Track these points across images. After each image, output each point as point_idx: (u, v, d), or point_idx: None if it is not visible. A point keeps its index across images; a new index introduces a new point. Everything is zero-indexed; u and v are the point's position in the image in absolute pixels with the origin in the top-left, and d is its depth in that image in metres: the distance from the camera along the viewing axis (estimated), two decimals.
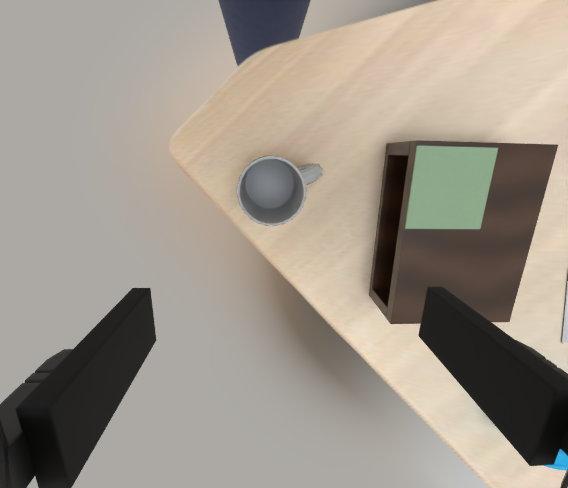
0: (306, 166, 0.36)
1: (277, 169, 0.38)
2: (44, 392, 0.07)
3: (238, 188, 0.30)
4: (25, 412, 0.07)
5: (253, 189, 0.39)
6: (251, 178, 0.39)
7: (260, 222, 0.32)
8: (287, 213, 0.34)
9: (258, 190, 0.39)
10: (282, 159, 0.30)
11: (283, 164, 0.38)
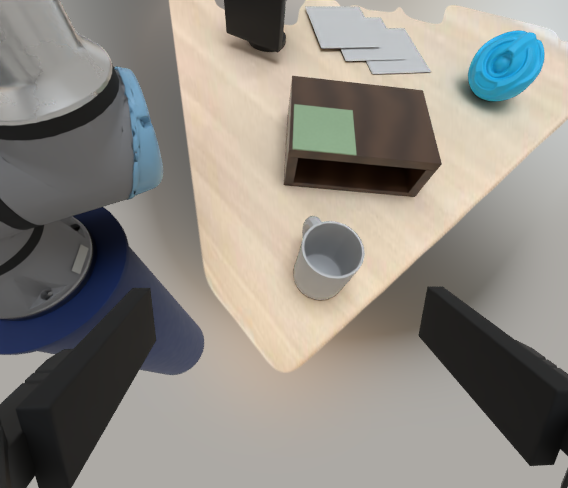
0: None
1: None
2: (44, 392, 0.07)
3: (331, 276, 0.32)
4: (25, 412, 0.07)
5: None
6: None
7: (361, 260, 0.33)
8: (349, 245, 0.37)
9: None
10: (304, 238, 0.34)
11: None
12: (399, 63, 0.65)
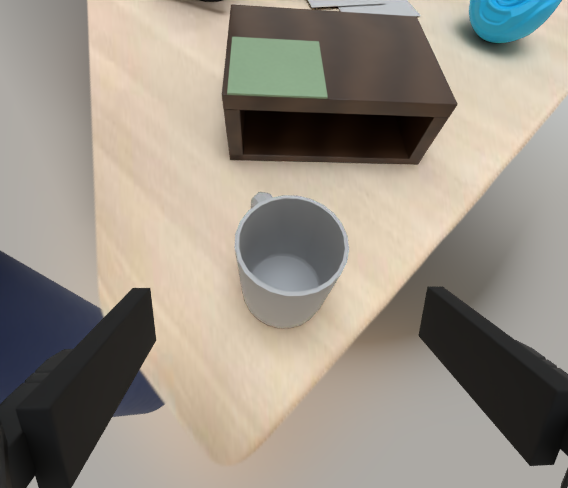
0: None
1: (262, 277, 0.27)
2: (44, 392, 0.07)
3: (289, 293, 0.17)
4: (25, 412, 0.07)
5: None
6: None
7: (344, 258, 0.18)
8: (324, 235, 0.22)
9: None
10: (240, 226, 0.19)
11: (254, 269, 0.27)
12: (380, 8, 0.52)
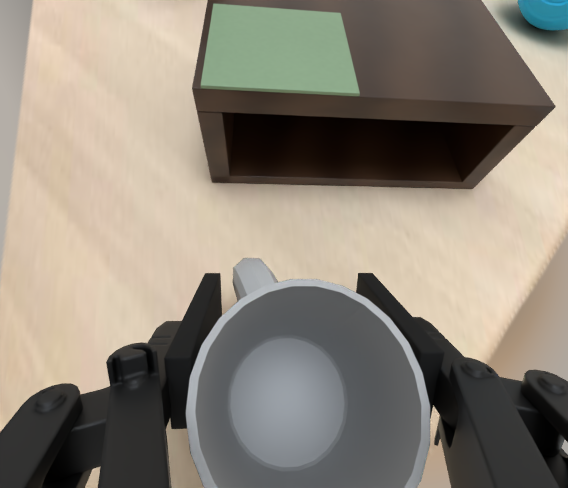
0: None
1: (254, 378, 0.17)
2: (179, 347, 0.09)
3: None
4: (170, 361, 0.09)
5: (303, 442, 0.15)
6: (276, 449, 0.15)
7: (424, 433, 0.09)
8: (362, 339, 0.12)
9: (304, 427, 0.16)
10: (200, 358, 0.09)
11: (242, 364, 0.17)
12: None
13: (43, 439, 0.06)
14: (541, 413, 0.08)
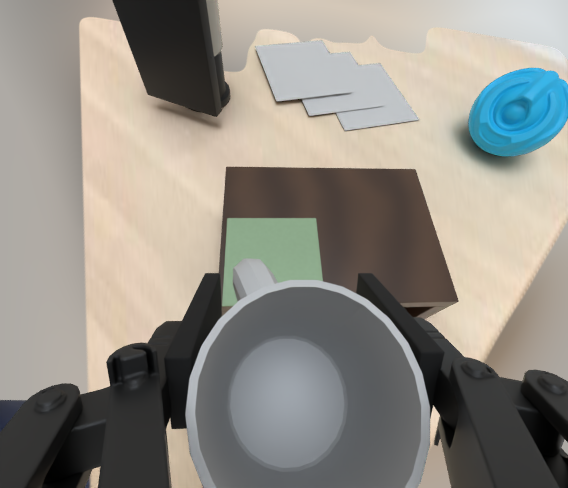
0: None
1: (254, 379, 0.17)
2: (179, 347, 0.09)
3: None
4: (170, 361, 0.09)
5: (303, 443, 0.15)
6: (276, 450, 0.15)
7: (424, 434, 0.08)
8: (362, 340, 0.12)
9: (304, 428, 0.16)
10: (200, 359, 0.09)
11: (242, 364, 0.17)
12: (378, 111, 0.51)
13: (43, 439, 0.06)
14: (541, 413, 0.08)
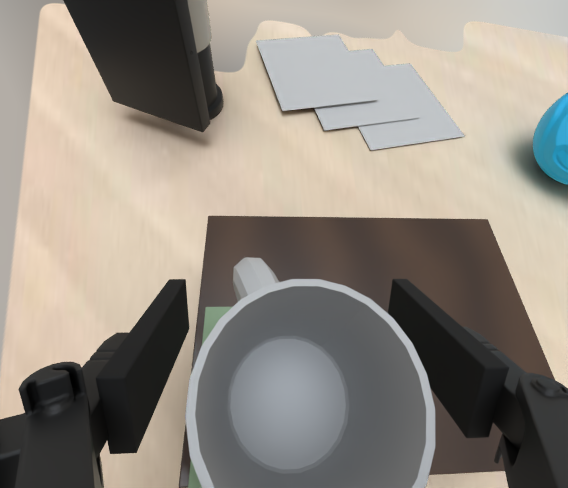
0: None
1: (254, 379, 0.17)
2: (116, 365, 0.08)
3: None
4: (103, 381, 0.08)
5: (304, 444, 0.15)
6: (277, 451, 0.15)
7: (429, 436, 0.08)
8: (365, 340, 0.12)
9: (305, 429, 0.16)
10: (200, 359, 0.09)
11: (242, 365, 0.17)
12: (411, 125, 0.40)
13: None
14: None
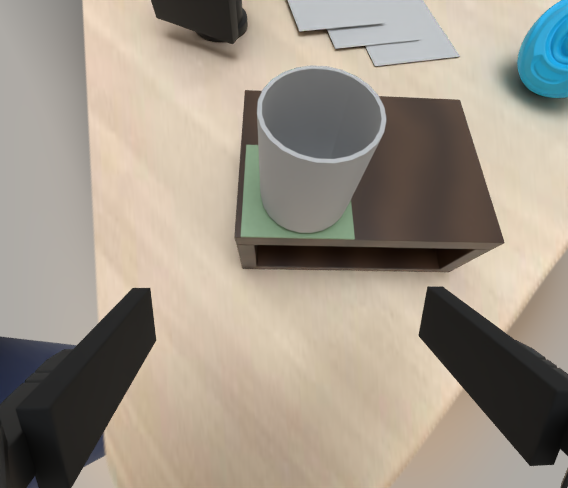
0: None
1: None
2: (44, 392, 0.07)
3: (319, 160, 0.15)
4: (25, 412, 0.07)
5: None
6: None
7: (381, 129, 0.16)
8: (354, 122, 0.20)
9: None
10: (262, 94, 0.17)
11: None
12: (413, 46, 0.45)
13: None
14: None
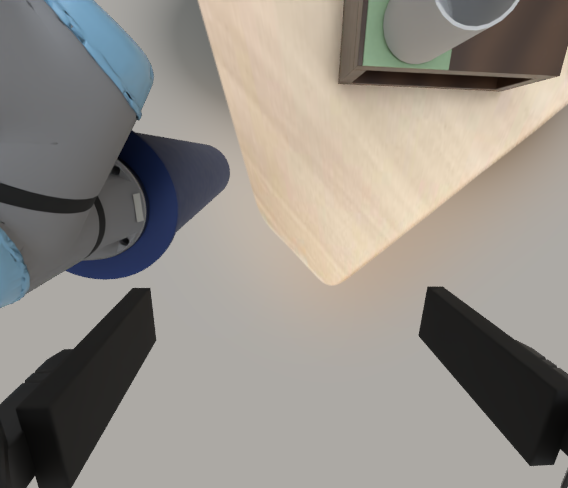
0: None
1: None
2: (44, 392, 0.07)
3: (467, 27, 0.21)
4: (25, 412, 0.07)
5: None
6: None
7: None
8: None
9: None
10: None
11: None
12: None
13: None
14: None
